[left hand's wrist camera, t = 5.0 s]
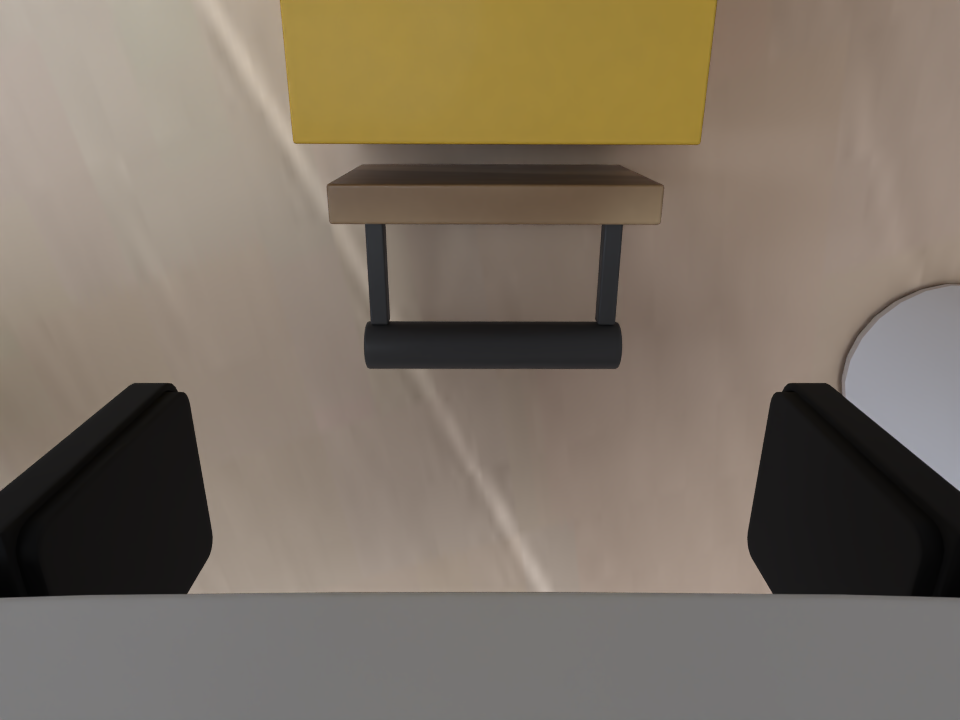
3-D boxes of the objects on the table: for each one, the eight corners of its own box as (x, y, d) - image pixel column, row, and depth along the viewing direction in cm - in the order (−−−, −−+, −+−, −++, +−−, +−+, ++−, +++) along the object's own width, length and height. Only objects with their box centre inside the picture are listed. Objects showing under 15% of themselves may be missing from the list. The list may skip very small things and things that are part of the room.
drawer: (609, 324, 28) (644, 385, 22) (370, 323, 28) (341, 384, 22) (663, -375, 20) (742, -575, 14) (328, -377, 20) (265, -580, 14)
